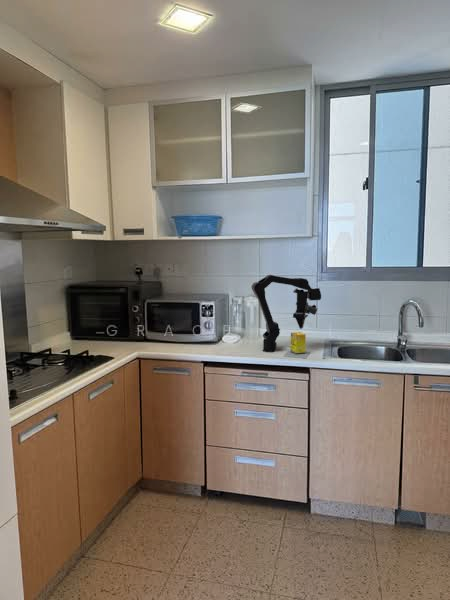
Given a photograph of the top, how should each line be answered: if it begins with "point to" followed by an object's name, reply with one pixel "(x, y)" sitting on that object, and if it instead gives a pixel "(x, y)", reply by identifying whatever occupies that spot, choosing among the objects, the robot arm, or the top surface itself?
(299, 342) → the supplement box
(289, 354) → the mat
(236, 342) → the top surface
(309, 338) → the top surface
